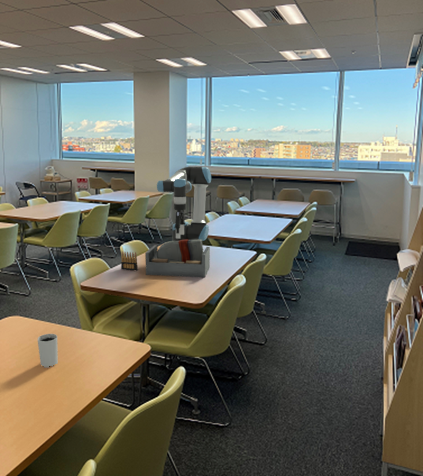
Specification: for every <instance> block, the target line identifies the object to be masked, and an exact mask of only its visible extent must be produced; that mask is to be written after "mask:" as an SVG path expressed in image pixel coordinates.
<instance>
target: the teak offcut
mask: <svg viewBox="0 0 423 476" xmlns="http://www.w3.org/2000/svg"><path fill="white" fill-rule="evenodd" d="M186 263H193V264H201V261H186Z"/></svg>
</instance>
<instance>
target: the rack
mask: <svg viewBox="0 0 423 476" xmlns="http://www.w3.org/2000/svg"><path fill="white" fill-rule="evenodd" d="M158 249H159V248H158V244H154V245H153V246H151V247H150V248H149V249H148V250H147V251H146V252H145V256H144V257H145V276H161V277H163V276H165V277H186V278H187V277H191V278H193V277H194V278H206V276H207V274H208V272H209V270H210V264H211V261H210V260H211V255H210V254H211V253H210V251H211V250H210V249H211V246H206V247H205V249H204V250H203V254H202V264H193V263H167V262H152V260H153V259H157V253H158Z"/></svg>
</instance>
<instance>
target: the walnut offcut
mask: <svg viewBox="0 0 423 476" xmlns="http://www.w3.org/2000/svg"><path fill="white" fill-rule="evenodd" d="M152 262H167V263H168V259H153V260H152Z"/></svg>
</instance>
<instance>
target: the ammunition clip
mask: <svg viewBox="0 0 423 476" xmlns="http://www.w3.org/2000/svg"><path fill="white" fill-rule="evenodd" d="M137 257H138V256H137V252H135V251H129V252H128V251H121V259H120V260H121V263H120V264H121V265H120V270H121V269H127V270H126V271H134V270H136V272H137V271H138V270H139V269H138V258H137Z"/></svg>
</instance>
